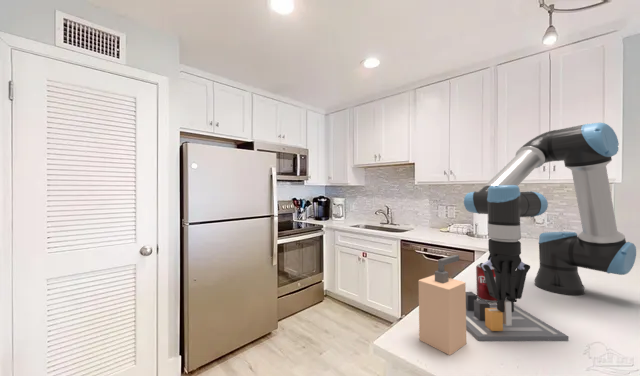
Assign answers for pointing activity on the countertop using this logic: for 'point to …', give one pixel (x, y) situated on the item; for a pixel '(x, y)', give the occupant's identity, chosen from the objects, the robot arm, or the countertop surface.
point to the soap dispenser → (442, 310)
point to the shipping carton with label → (494, 319)
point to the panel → (521, 329)
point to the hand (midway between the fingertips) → (505, 323)
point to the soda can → (483, 285)
